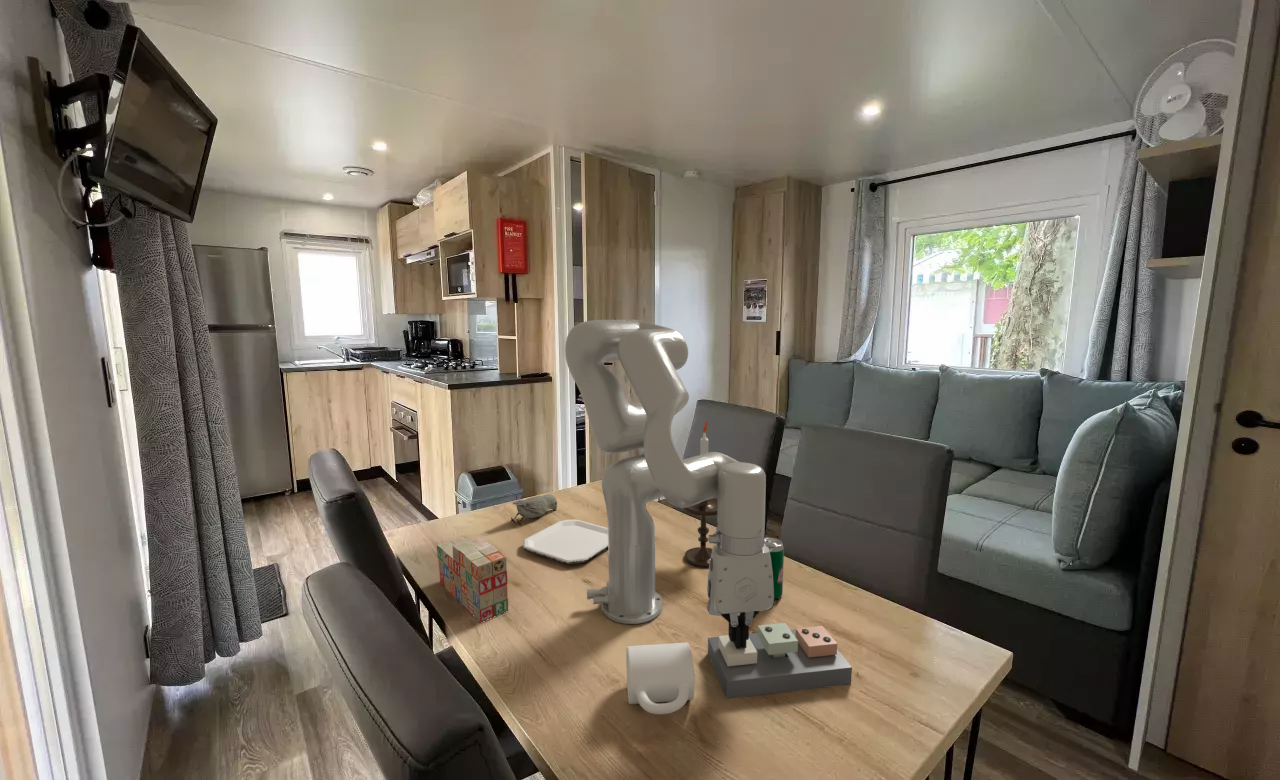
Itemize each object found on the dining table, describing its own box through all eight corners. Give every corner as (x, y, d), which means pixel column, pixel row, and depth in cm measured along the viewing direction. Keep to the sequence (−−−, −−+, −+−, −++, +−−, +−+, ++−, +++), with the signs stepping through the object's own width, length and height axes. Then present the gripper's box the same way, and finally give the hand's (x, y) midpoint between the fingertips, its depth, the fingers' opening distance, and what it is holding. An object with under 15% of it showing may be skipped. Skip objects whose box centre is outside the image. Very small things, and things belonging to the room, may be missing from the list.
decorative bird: (562, 512, 157) (561, 489, 156) (519, 529, 144) (518, 504, 143) (550, 508, 160) (549, 485, 159) (507, 525, 148) (506, 500, 147)
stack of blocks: (439, 582, 116) (435, 531, 114) (465, 573, 120) (462, 523, 118) (480, 624, 100) (477, 565, 98) (509, 611, 104) (506, 555, 103)
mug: (626, 679, 85) (625, 635, 84) (685, 675, 86) (686, 631, 84) (631, 738, 73) (630, 688, 72) (700, 733, 74) (700, 683, 73)
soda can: (783, 602, 107) (785, 548, 105) (758, 599, 108) (759, 546, 106) (781, 589, 112) (783, 537, 110) (757, 587, 113) (759, 536, 111)
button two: (768, 671, 84) (769, 643, 83) (757, 651, 89) (757, 624, 88) (796, 668, 85) (798, 640, 84) (784, 648, 90) (785, 622, 89)
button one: (727, 683, 83) (727, 654, 82) (718, 662, 88) (718, 635, 87) (756, 679, 84) (757, 651, 83) (745, 659, 89) (746, 632, 88)
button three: (807, 673, 85) (809, 645, 84) (794, 654, 90) (795, 627, 89) (835, 670, 86) (837, 642, 85) (821, 651, 91) (822, 624, 90)
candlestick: (712, 546, 133) (714, 414, 128) (733, 565, 123) (736, 423, 117) (674, 552, 129) (674, 417, 124) (691, 572, 119) (693, 426, 114)
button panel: (727, 698, 80) (727, 681, 80) (707, 653, 91) (708, 637, 91) (851, 684, 83) (852, 667, 83) (818, 641, 94) (819, 626, 93)
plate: (626, 540, 137) (626, 532, 137) (577, 573, 120) (577, 564, 120) (567, 523, 148) (567, 516, 148) (515, 551, 131) (514, 543, 131)
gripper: (701, 553, 78) (700, 663, 80) (794, 546, 80) (790, 653, 83) (689, 533, 85) (689, 634, 88) (775, 527, 87) (772, 625, 90)
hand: (738, 643), depth 85 cm, fingers closed
